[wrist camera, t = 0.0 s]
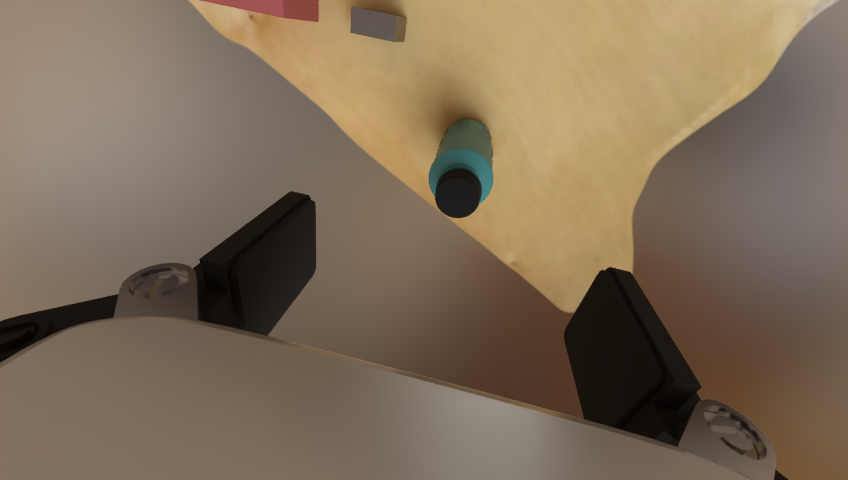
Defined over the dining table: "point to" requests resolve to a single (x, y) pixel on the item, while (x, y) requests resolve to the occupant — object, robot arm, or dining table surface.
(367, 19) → the grey flat block
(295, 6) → the red slotted block
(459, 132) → the beverage bottle
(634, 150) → the dining table surface
